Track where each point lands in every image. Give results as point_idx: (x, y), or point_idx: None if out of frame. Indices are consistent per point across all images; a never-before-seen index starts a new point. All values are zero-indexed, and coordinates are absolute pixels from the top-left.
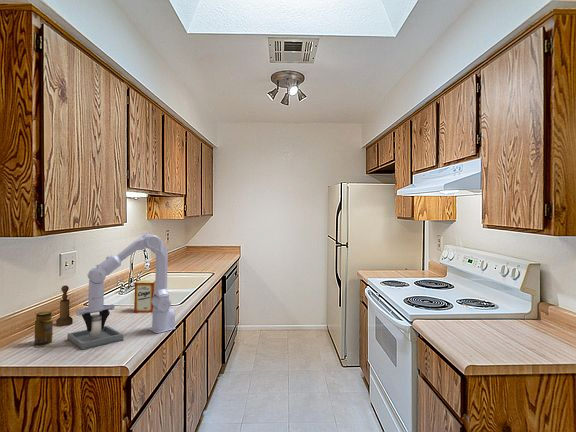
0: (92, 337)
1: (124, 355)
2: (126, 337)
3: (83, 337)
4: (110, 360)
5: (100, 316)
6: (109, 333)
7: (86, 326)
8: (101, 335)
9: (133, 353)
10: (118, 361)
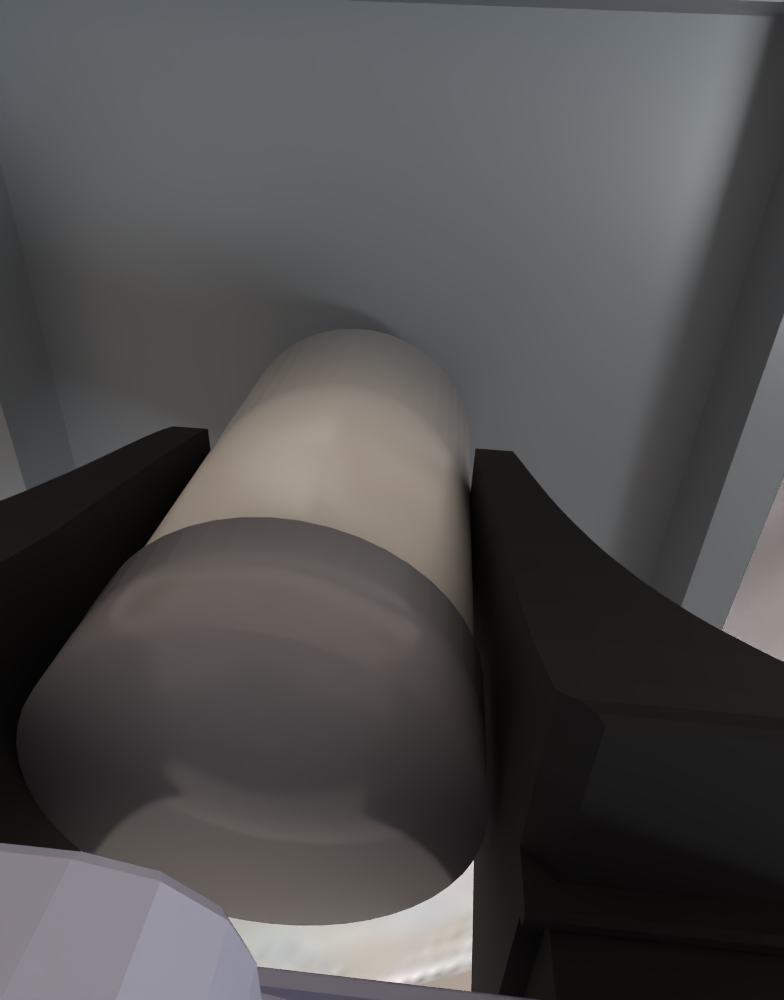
0: (350, 310)
1: (390, 935)
2: (770, 618)
3: (208, 167)
4: (259, 933)
5: (362, 915)
6: (718, 314)
7: (106, 459)
8: (533, 321)
9: (469, 948)
10: (299, 969)
